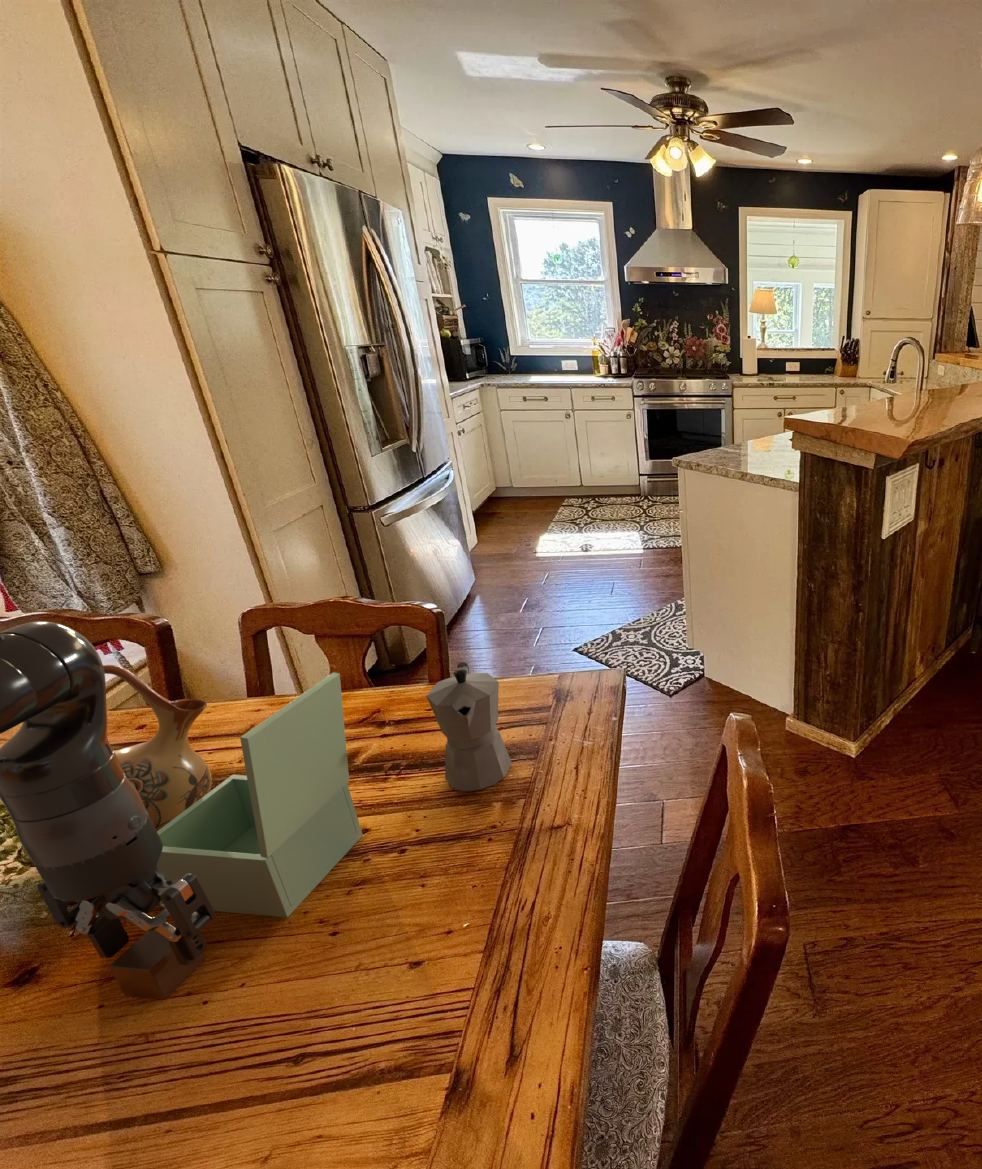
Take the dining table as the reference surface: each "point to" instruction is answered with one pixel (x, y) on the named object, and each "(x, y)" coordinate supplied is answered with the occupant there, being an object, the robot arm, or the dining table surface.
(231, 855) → the box
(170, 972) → the block
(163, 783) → the ceramic vessel
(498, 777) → the coffeepot
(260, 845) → the lid
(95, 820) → the robot arm
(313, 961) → the dining table surface
